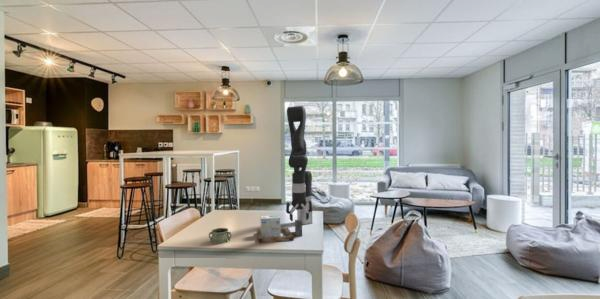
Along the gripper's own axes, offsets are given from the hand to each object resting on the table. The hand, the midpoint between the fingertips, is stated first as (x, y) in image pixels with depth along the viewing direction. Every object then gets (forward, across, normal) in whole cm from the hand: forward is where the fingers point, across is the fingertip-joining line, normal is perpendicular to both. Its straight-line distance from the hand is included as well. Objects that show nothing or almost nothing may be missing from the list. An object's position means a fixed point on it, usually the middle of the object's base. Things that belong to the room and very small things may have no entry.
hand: (299, 220), depth 174 cm
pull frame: (+8, +11, 0) cm, 14 cm away
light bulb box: (+8, +16, -3) cm, 18 cm away
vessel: (+8, +43, +2) cm, 43 cm away
